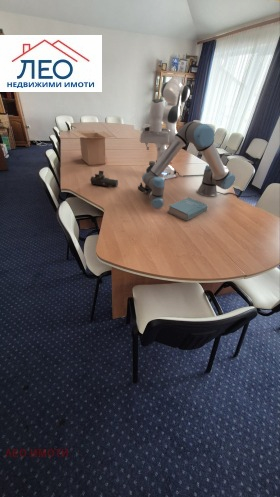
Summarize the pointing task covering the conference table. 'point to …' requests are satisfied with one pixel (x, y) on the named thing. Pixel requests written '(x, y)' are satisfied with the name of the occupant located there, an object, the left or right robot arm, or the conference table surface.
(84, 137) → the box
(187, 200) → the book
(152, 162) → the cap
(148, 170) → the bottle
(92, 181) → the laser sight
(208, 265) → the conference table surface
